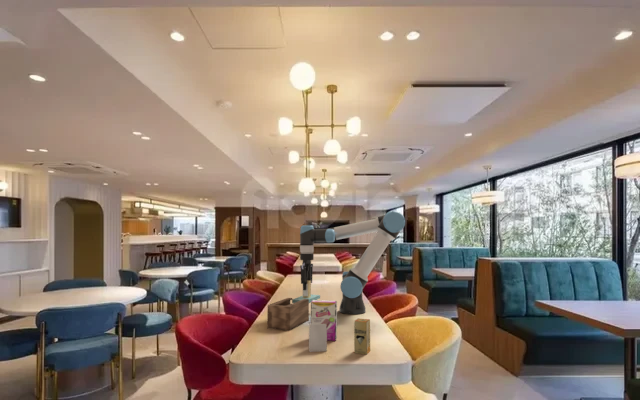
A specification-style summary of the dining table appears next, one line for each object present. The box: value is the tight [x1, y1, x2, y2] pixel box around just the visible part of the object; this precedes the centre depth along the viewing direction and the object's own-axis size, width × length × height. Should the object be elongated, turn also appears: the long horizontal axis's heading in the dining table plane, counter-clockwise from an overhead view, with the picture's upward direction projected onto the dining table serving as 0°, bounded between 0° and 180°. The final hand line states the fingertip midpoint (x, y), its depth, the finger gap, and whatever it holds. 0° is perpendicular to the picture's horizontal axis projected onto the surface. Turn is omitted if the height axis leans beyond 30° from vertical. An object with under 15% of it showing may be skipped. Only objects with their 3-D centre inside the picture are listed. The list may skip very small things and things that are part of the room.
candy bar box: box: [310, 299, 338, 342], centre depth 171 cm, size 11×5×16 cm, turn 84°
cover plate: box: [291, 280, 321, 304], centre depth 220 cm, size 9×20×11 cm, turn 159°
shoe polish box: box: [353, 318, 371, 355], centre depth 153 cm, size 5×5×12 cm
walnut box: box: [266, 297, 310, 331], centre depth 199 cm, size 12×23×11 cm, turn 159°
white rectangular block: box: [308, 323, 328, 353], centre depth 156 cm, size 4×7×10 cm, turn 96°
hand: (306, 295), depth 220 cm, fingers closed on cover plate, 3 cm apart
